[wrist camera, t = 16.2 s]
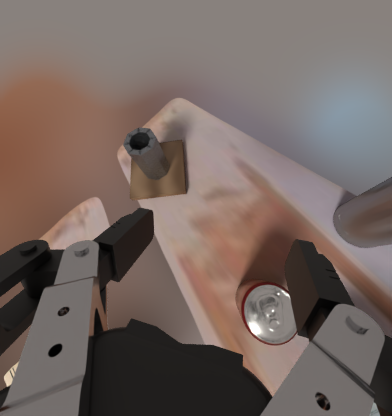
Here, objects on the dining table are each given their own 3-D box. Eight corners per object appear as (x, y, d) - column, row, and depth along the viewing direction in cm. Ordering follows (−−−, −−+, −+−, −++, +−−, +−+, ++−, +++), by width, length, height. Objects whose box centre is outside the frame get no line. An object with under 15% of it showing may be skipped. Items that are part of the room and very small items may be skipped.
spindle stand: (183, 143, 48) (176, 123, 41) (186, 193, 43) (180, 179, 37) (134, 150, 49) (121, 132, 43) (132, 200, 45) (117, 188, 38)
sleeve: (171, 159, 45) (158, 129, 36) (164, 181, 43) (149, 156, 34) (148, 156, 46) (130, 126, 37) (141, 177, 45) (119, 152, 35)
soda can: (232, 280, 36) (236, 285, 25) (270, 276, 36) (292, 278, 24) (239, 323, 34) (247, 350, 23) (280, 320, 33) (310, 344, 22)
